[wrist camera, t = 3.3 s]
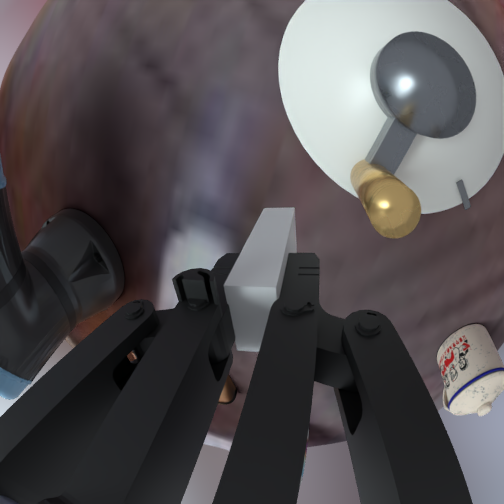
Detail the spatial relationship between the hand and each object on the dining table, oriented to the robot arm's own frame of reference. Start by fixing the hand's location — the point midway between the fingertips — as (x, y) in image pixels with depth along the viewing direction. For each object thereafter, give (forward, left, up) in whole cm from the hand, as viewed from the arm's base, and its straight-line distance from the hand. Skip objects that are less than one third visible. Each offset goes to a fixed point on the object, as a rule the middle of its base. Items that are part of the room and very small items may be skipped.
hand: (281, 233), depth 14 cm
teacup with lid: (+32, -8, -11) cm, 35 cm away
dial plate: (+5, +13, -11) cm, 18 cm away
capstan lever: (+5, +9, -9) cm, 14 cm away
